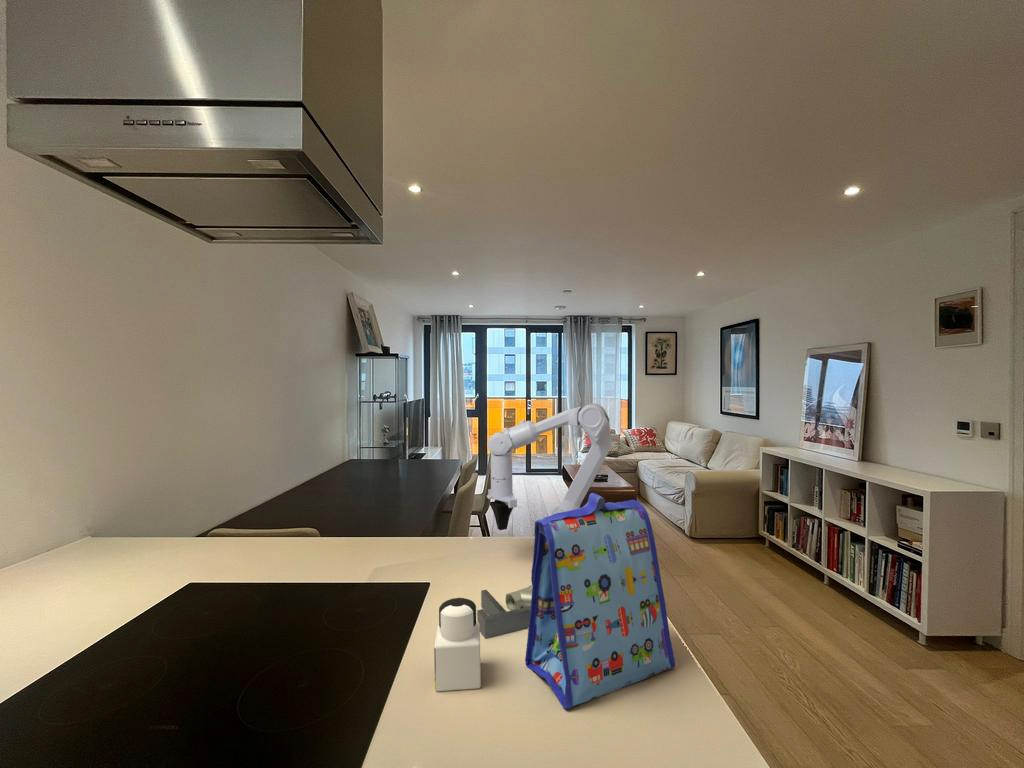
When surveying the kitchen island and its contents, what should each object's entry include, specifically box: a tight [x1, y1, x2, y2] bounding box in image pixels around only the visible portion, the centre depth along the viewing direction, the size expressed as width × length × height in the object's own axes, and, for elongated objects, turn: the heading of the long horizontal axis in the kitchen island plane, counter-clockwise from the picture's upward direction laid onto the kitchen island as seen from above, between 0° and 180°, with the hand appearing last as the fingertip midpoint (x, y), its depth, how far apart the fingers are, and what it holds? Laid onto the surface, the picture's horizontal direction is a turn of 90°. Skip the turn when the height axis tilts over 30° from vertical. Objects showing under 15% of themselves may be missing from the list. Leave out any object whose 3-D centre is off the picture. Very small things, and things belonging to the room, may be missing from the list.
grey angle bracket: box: [476, 589, 531, 640], centre depth 97 cm, size 22×12×4 cm, turn 114°
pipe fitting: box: [505, 584, 533, 611], centre depth 99 cm, size 8×4×7 cm
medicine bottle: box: [433, 597, 482, 692], centre depth 75 cm, size 7×7×12 cm
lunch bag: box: [524, 492, 676, 710], centre depth 77 cm, size 22×14×29 cm, turn 117°
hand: (502, 529), depth 122 cm, fingers closed
